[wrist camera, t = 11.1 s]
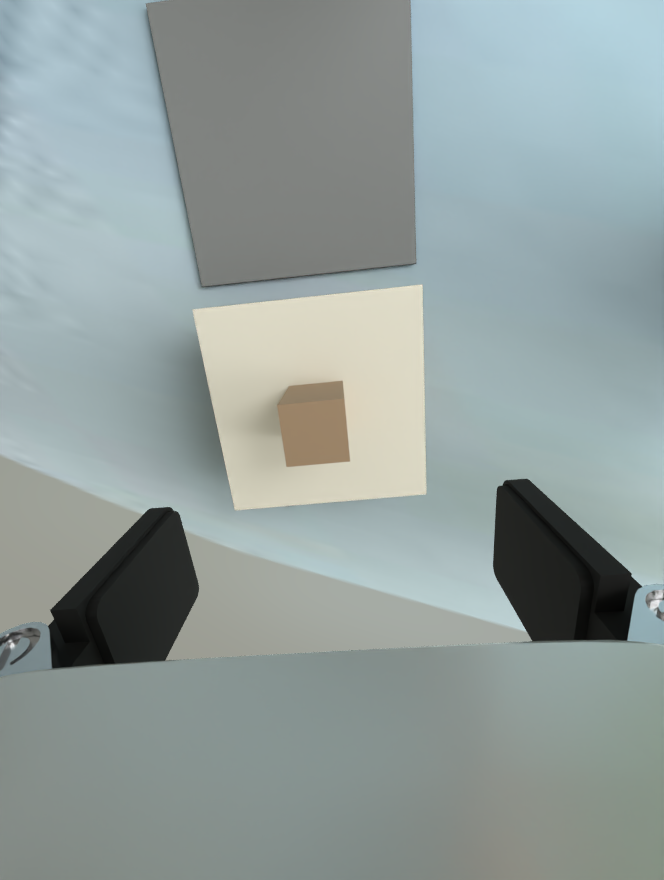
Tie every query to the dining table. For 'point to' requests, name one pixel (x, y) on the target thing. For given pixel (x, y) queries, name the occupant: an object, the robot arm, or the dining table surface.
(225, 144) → the mat
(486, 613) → the dining table surface
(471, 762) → the robot arm
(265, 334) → the lid
